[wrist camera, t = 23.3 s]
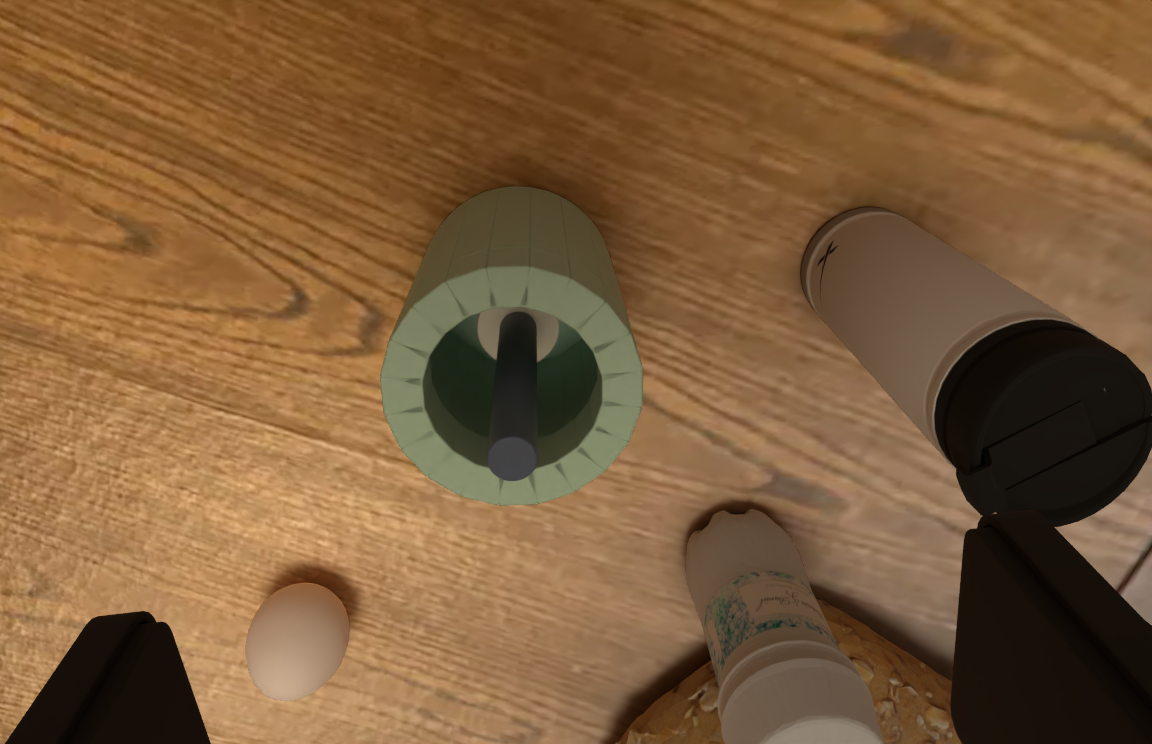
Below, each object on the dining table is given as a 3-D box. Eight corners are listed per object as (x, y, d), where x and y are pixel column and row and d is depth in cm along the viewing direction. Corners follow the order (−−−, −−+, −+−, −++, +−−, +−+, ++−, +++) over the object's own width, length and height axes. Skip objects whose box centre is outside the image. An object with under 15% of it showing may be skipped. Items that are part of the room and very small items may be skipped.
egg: (255, 620, 53) (214, 712, 46) (280, 548, 51) (241, 634, 44) (343, 646, 54) (316, 740, 47) (371, 576, 52) (346, 664, 45)
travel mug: (773, 247, 45) (936, 420, 27) (896, 183, 44) (1152, 317, 26) (821, 348, 48) (1001, 572, 29) (939, 289, 47) (1202, 483, 28)
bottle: (811, 513, 52) (966, 803, 33) (761, 606, 54) (880, 923, 36) (703, 479, 50) (802, 759, 32) (657, 575, 53) (724, 887, 34)
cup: (385, 262, 45) (325, 371, 32) (535, 146, 43) (536, 211, 30) (503, 399, 48) (492, 548, 35) (648, 296, 46) (693, 413, 33)
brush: (468, 280, 45) (430, 450, 28) (526, 237, 44) (522, 385, 27) (513, 335, 46) (502, 529, 29) (570, 293, 45) (592, 468, 29)
